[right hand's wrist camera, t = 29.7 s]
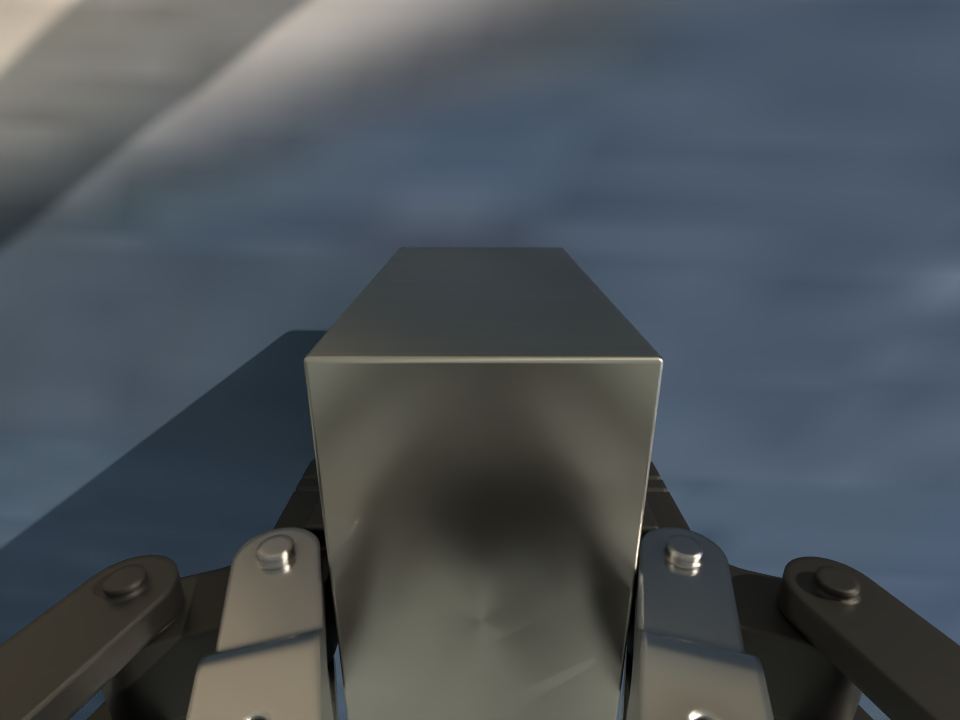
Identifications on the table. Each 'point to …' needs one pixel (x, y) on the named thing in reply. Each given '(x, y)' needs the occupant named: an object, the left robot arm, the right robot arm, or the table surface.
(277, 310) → the table surface
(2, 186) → the table surface
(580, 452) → the block
